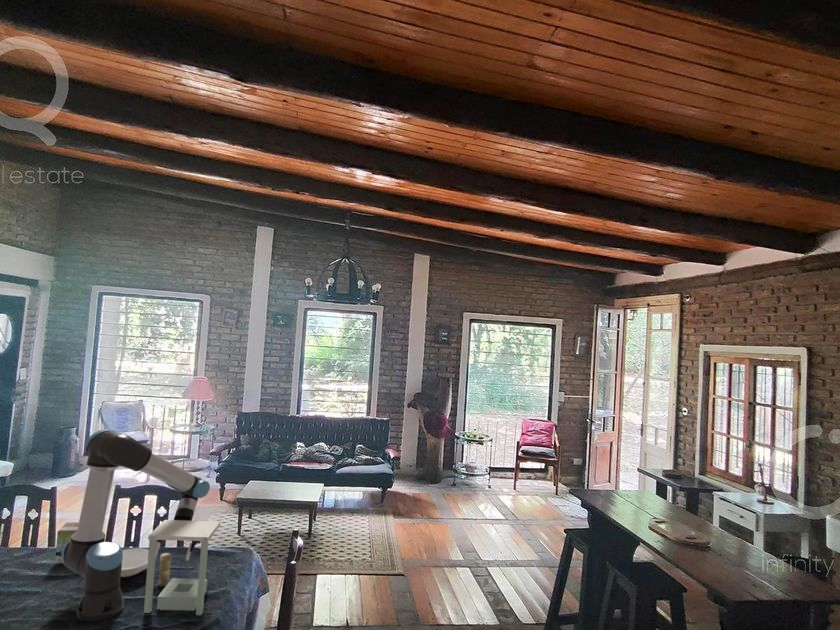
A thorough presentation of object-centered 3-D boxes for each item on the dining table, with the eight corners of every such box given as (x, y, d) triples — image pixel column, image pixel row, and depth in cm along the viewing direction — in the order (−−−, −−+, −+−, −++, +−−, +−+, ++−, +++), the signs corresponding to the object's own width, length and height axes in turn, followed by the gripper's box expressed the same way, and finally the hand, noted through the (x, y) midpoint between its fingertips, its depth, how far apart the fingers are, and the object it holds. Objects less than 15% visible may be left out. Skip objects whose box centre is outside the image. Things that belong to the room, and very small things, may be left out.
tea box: (54, 564, 223) (56, 530, 223) (63, 554, 233) (66, 521, 233) (92, 562, 227) (95, 529, 227) (100, 552, 237) (103, 520, 237)
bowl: (163, 565, 229) (164, 551, 229) (134, 587, 210) (135, 572, 210) (122, 560, 231) (123, 546, 231) (89, 582, 212) (90, 566, 212)
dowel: (156, 586, 212) (158, 557, 212) (160, 581, 216) (162, 552, 216) (166, 586, 212) (168, 557, 212) (170, 581, 216) (172, 553, 216)
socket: (142, 614, 192) (148, 535, 193) (161, 590, 209) (166, 517, 210) (202, 615, 194) (208, 537, 195) (216, 591, 211) (221, 519, 212)
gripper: (215, 515, 237) (202, 563, 221) (159, 513, 234) (142, 561, 219) (212, 507, 231) (198, 556, 216) (155, 505, 229) (137, 555, 214)
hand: (170, 559), depth 218 cm, fingers open, 13 cm apart
